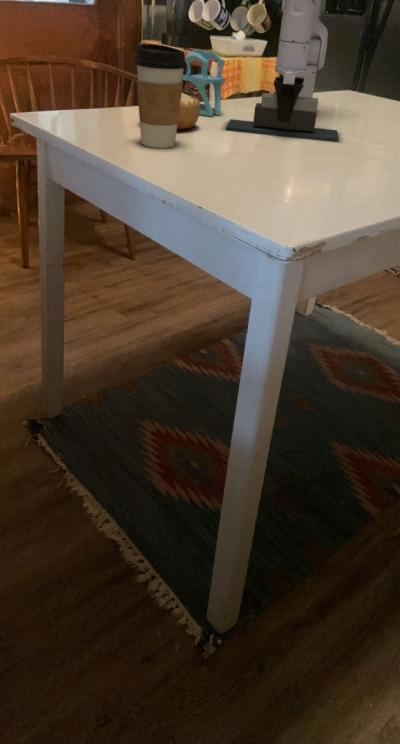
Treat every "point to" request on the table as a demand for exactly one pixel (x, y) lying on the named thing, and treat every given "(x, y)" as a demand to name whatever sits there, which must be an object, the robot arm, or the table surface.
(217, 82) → the chair
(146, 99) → the coffee cup
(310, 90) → the robot arm
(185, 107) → the pastry
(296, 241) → the table surface
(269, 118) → the grey rectangular block
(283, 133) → the desk mat
